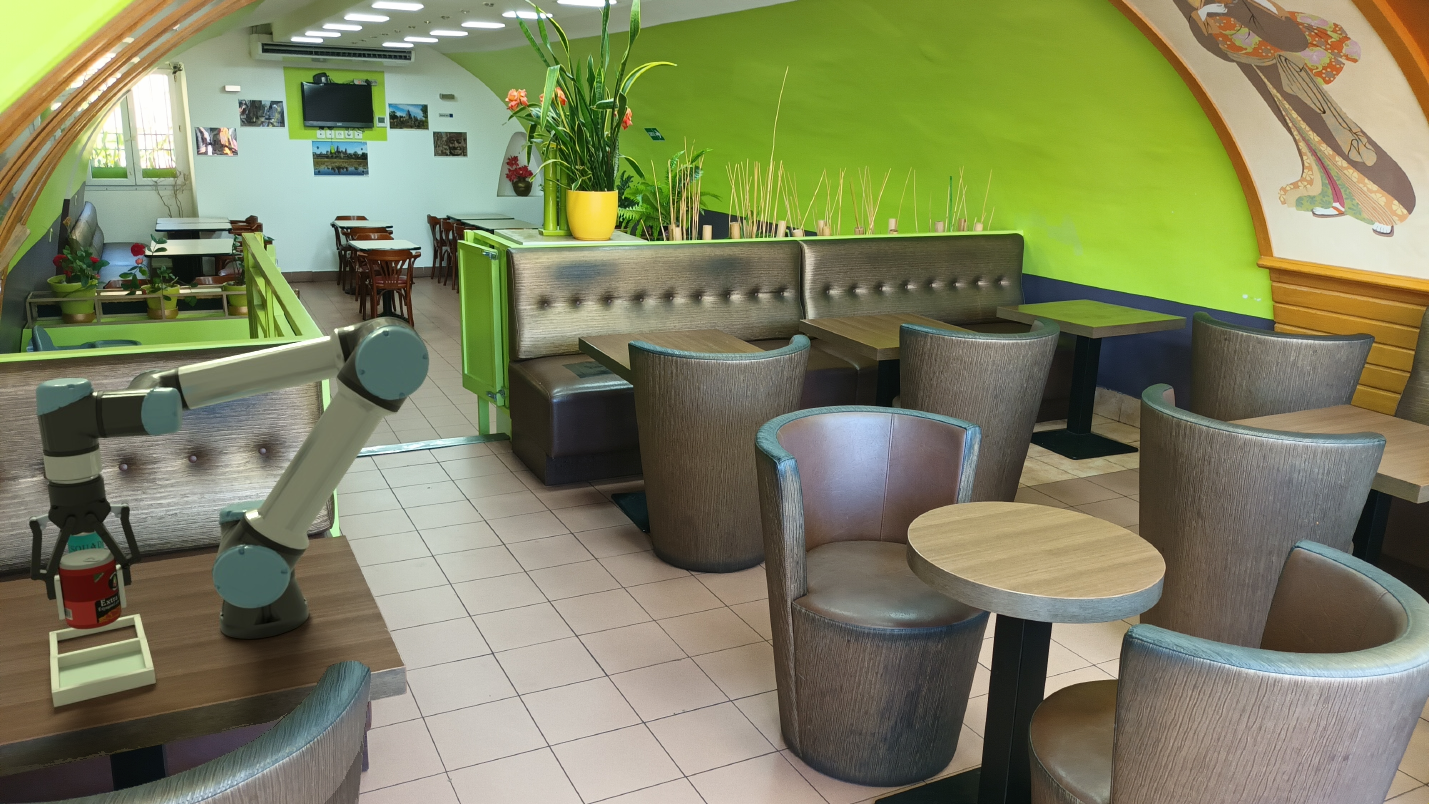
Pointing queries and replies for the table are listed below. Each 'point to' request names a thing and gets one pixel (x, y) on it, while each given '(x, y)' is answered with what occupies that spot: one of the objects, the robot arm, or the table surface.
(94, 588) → the canned food
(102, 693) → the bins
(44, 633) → the table surface
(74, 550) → the beverage can
